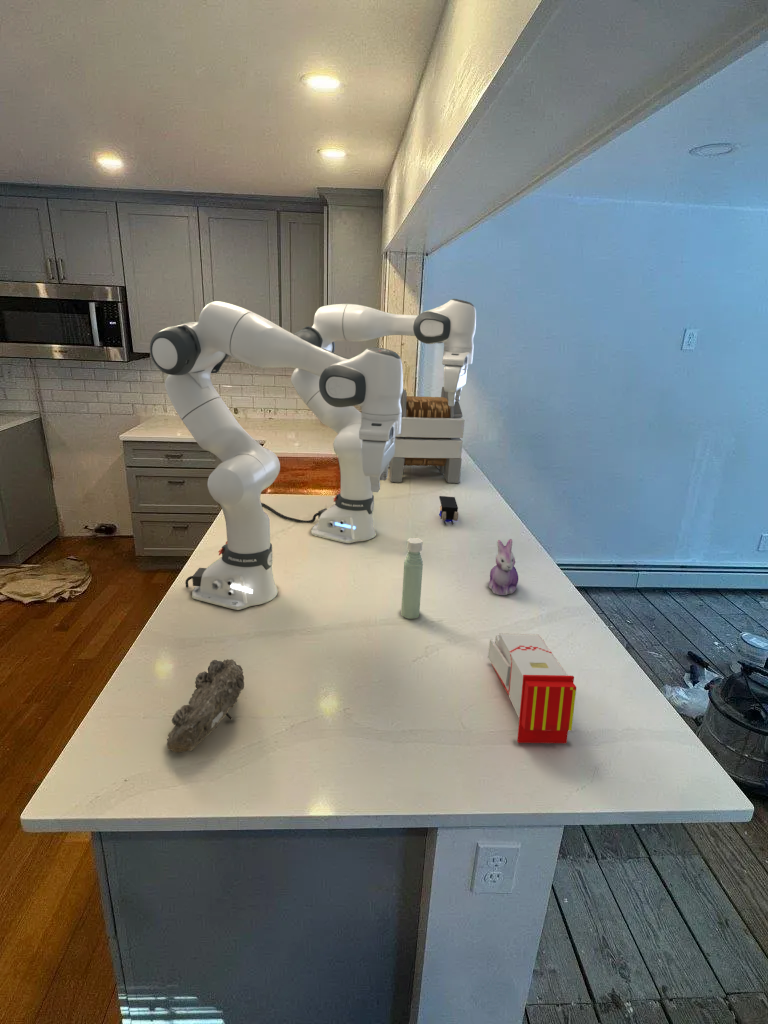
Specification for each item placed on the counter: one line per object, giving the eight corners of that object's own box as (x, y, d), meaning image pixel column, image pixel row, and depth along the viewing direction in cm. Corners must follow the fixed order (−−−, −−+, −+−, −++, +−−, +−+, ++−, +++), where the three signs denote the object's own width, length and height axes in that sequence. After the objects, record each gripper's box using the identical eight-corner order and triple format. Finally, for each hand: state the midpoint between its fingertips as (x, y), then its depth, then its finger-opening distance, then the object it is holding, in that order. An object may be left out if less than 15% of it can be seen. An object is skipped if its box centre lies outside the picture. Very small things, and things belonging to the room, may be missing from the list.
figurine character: (458, 530, 209) (453, 512, 222) (460, 512, 205) (455, 494, 219) (440, 529, 209) (436, 511, 222) (442, 511, 205) (438, 494, 219)
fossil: (192, 660, 117) (244, 628, 112) (224, 691, 120) (276, 661, 115) (142, 746, 98) (202, 712, 93) (182, 779, 101) (242, 748, 96)
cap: (404, 547, 142) (404, 538, 141) (416, 545, 144) (417, 536, 143) (411, 553, 139) (412, 544, 138) (424, 551, 141) (425, 542, 140)
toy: (536, 617, 130) (585, 683, 100) (531, 671, 132) (578, 750, 103) (483, 616, 129) (518, 682, 100) (479, 670, 132) (511, 749, 103)
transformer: (382, 463, 289) (386, 382, 275) (445, 464, 293) (451, 384, 279) (390, 482, 257) (394, 392, 243) (460, 483, 261) (468, 394, 247)
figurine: (501, 599, 157) (507, 549, 152) (479, 583, 165) (484, 536, 160) (527, 593, 161) (534, 544, 156) (504, 578, 170) (510, 531, 165)
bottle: (397, 611, 149) (402, 539, 142) (413, 608, 151) (418, 537, 144) (406, 620, 145) (411, 546, 138) (422, 616, 147) (428, 544, 140)
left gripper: (376, 416, 135) (374, 472, 139) (357, 433, 116) (356, 497, 120) (402, 417, 134) (399, 474, 138) (387, 435, 115) (385, 499, 119)
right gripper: (453, 354, 180) (449, 398, 185) (441, 358, 161) (437, 407, 166) (473, 355, 178) (468, 399, 183) (463, 360, 160) (459, 409, 164)
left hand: (379, 485), depth 129 cm, fingers open, 8 cm apart
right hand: (454, 403), depth 174 cm, fingers open, 8 cm apart
